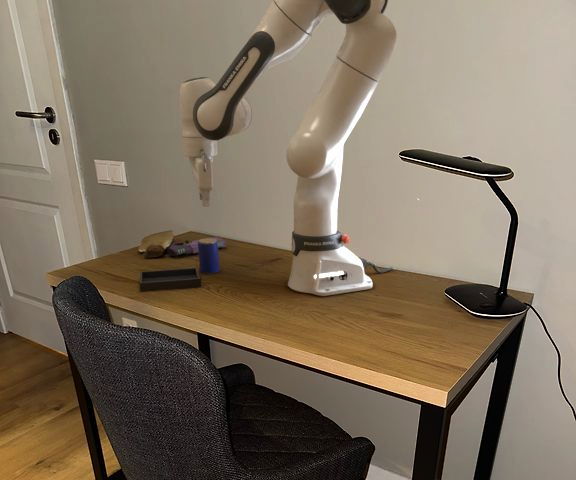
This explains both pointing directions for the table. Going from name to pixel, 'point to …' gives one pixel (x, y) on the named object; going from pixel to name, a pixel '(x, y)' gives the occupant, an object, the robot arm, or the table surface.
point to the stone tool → (156, 243)
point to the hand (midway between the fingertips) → (204, 202)
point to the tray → (169, 279)
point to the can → (208, 256)
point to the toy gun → (189, 247)
